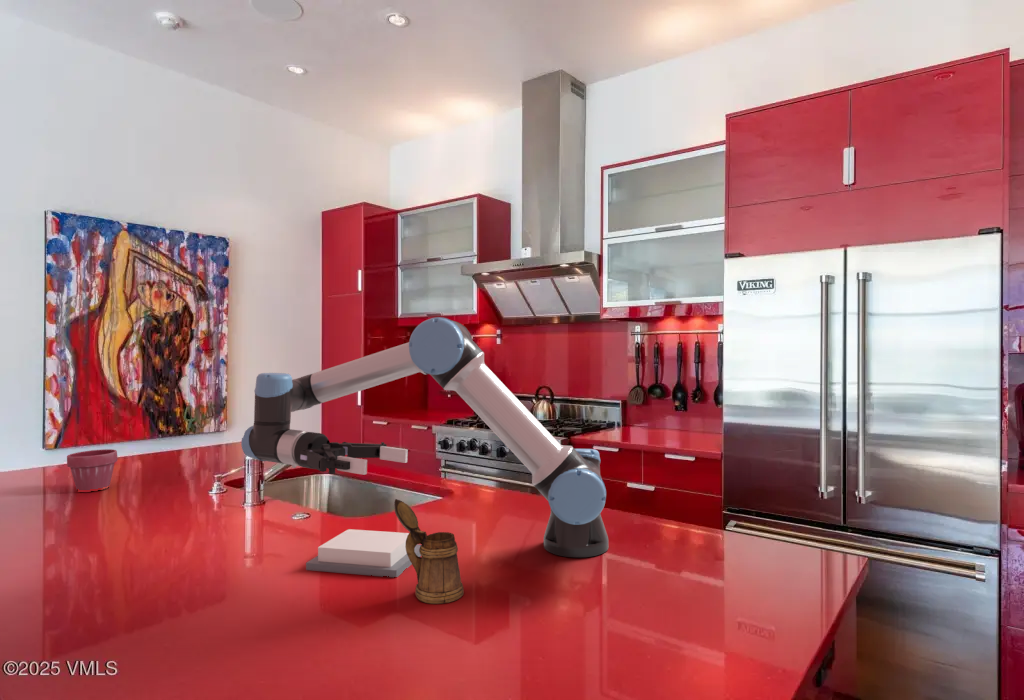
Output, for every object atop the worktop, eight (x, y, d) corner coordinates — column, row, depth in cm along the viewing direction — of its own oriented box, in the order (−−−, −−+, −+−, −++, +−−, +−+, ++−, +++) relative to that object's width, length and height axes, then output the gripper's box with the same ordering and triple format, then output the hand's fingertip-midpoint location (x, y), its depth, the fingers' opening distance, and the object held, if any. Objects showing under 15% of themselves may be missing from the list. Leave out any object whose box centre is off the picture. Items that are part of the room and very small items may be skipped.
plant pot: (56, 494, 200) (55, 456, 200) (92, 484, 214) (91, 448, 213) (93, 495, 197) (93, 456, 197) (127, 485, 211) (127, 449, 211)
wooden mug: (404, 582, 121) (403, 493, 121) (469, 587, 118) (467, 495, 118) (386, 600, 112) (384, 504, 112) (455, 606, 109) (453, 508, 109)
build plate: (426, 551, 139) (425, 532, 139) (396, 577, 123) (396, 555, 123) (344, 545, 144) (344, 526, 144) (306, 569, 128) (305, 548, 128)
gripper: (343, 457, 139) (420, 469, 131) (258, 477, 117) (345, 493, 108) (344, 425, 139) (422, 435, 131) (259, 439, 117) (346, 452, 108)
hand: (387, 461), depth 119 cm, fingers open, 13 cm apart
